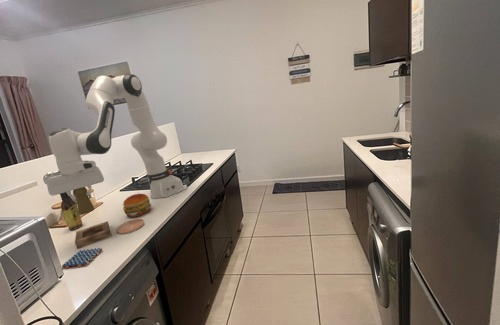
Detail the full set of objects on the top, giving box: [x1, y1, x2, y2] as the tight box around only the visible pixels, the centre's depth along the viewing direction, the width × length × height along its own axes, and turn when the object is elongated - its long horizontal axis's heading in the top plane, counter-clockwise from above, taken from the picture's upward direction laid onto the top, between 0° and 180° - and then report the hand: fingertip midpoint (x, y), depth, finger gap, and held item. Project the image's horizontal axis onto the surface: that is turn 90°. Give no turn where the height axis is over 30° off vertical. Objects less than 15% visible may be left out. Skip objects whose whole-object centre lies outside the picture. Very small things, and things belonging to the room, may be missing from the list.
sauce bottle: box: [59, 192, 83, 231], centre depth 129 cm, size 7×6×20 cm
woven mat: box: [61, 247, 104, 270], centre depth 99 cm, size 10×11×2 cm
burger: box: [122, 193, 152, 218], centre depth 136 cm, size 13×14×10 cm
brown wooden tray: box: [74, 221, 112, 250], centre depth 117 cm, size 13×13×3 cm
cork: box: [72, 187, 95, 215], centre depth 113 cm, size 6×6×11 cm
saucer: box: [116, 218, 145, 235], centre depth 121 cm, size 12×12×1 cm
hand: (82, 197), depth 113 cm, fingers closed on cork, 4 cm apart
